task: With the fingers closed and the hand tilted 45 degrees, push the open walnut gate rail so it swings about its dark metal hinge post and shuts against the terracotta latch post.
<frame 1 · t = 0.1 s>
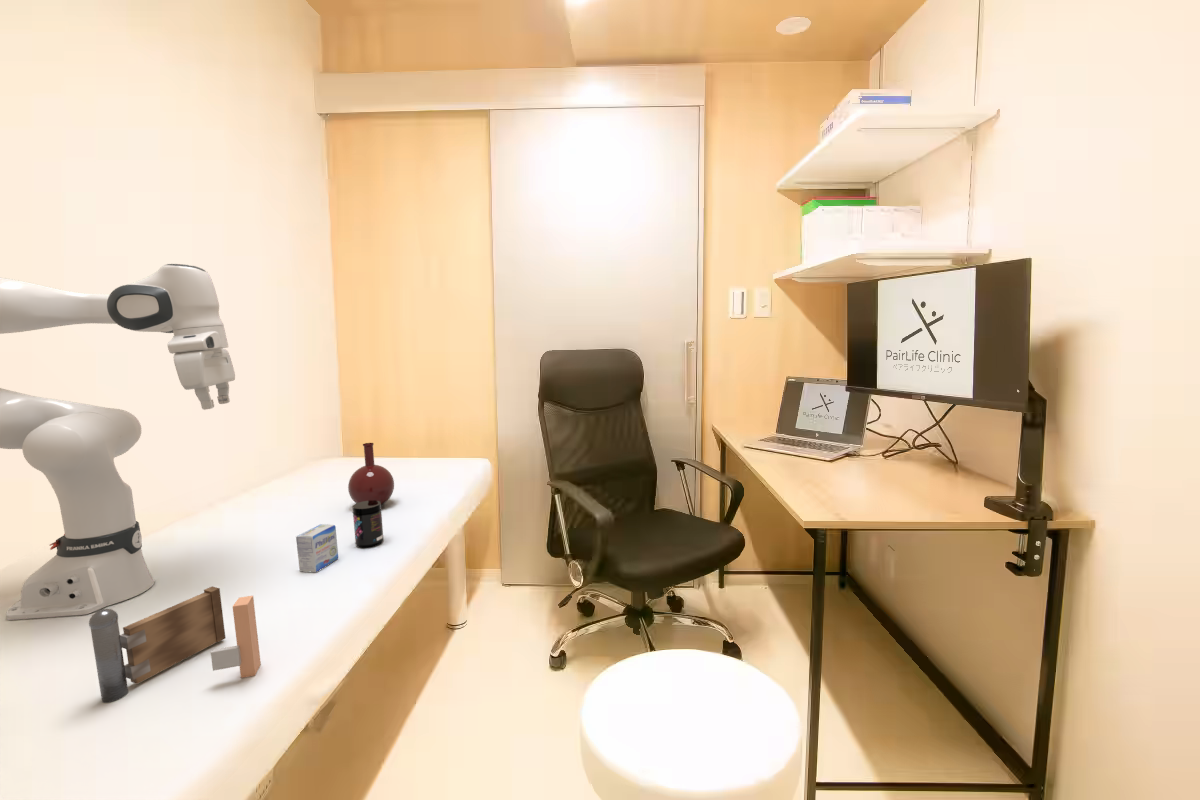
hand: (216, 406, 117), 39 cm above the table, tool pointing down, fingers open, 8 cm apart
medicine box: (319, 566, 127), on the table
supplement container: (369, 544, 140), on the table
round-bottom flask: (373, 507, 169), on the table
gate: (175, 632, 90), point 5 cm above the table, hinge at 50.0°
hinge post: (115, 695, 82), on the table
latch post: (251, 671, 88), on the table
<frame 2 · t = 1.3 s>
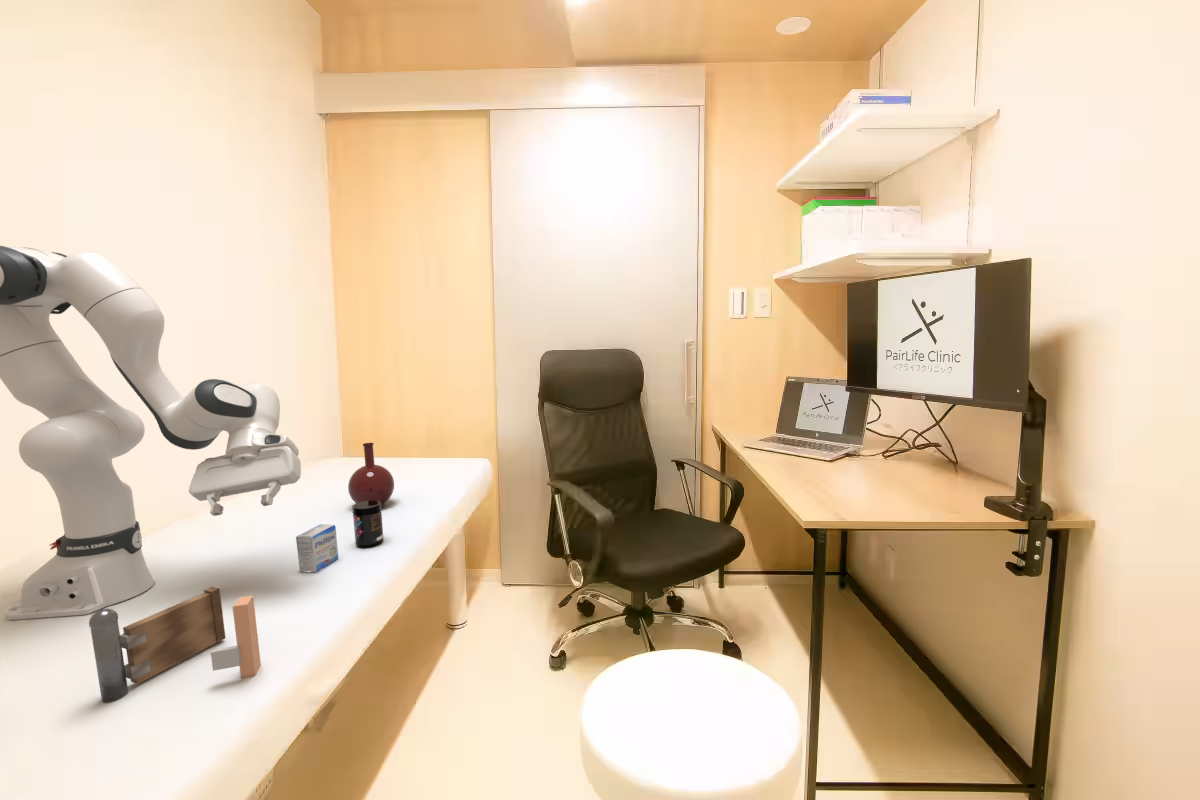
hand: (241, 509, 108), 19 cm above the table, tool tilted 45°, fingers open, 8 cm apart
nothing on the table moved.
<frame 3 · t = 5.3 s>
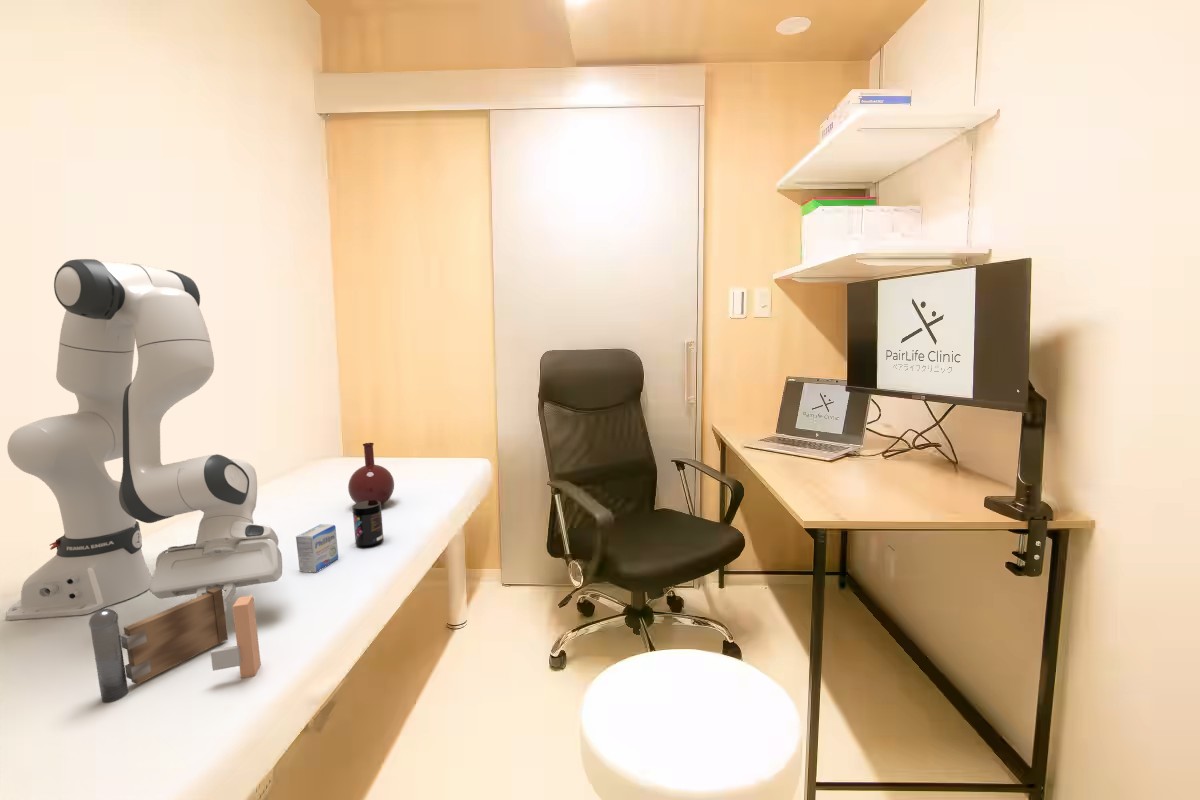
hand: (213, 613, 96), 5 cm above the table, tool tilted 45°, fingers closed
gate: (177, 633, 90), point 5 cm above the table, hinge at 47.3°, touching gripper
everything else where it was.
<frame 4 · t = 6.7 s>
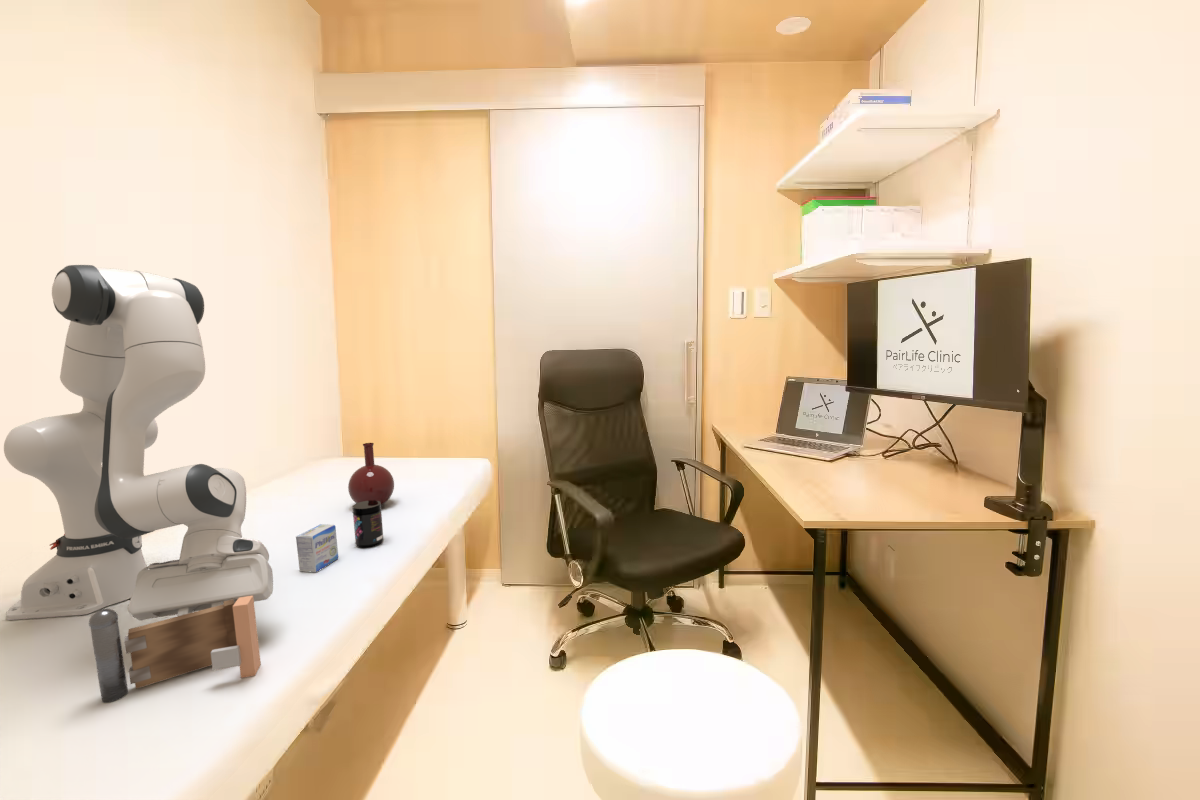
hand: (197, 635, 89), 5 cm above the table, tool tilted 45°, fingers closed
gate: (185, 642, 87), point 5 cm above the table, hinge at 19.0°, touching gripper
everything else where it was.
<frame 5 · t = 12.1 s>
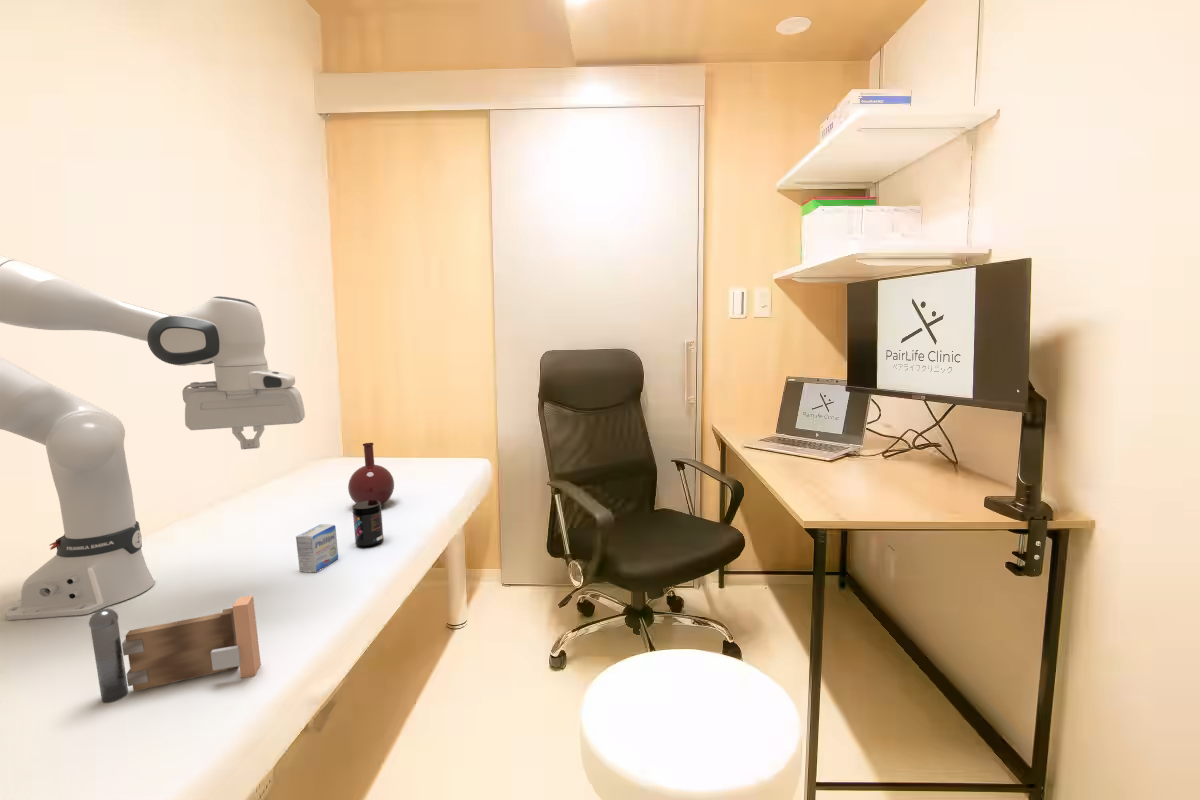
hand: (250, 448, 109), 31 cm above the table, tool pointing down, fingers closed
gate: (183, 648, 85), point 5 cm above the table, hinge at 6.4°
everything else where it was.
at the end: gate at +6° (first picture: +50°); the gripper is holding nothing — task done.
